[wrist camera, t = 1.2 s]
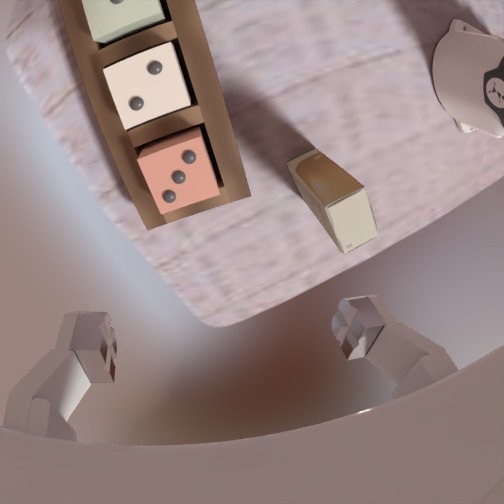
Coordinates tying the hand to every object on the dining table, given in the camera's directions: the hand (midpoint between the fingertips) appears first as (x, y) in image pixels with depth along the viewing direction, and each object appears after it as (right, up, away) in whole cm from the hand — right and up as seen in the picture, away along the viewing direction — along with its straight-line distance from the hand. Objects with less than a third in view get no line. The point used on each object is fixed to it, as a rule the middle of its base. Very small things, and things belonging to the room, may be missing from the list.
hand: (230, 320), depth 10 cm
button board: (-9, +20, +16) cm, 27 cm away
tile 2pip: (-9, +19, +14) cm, 25 cm away
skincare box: (+8, +12, +26) cm, 30 cm away
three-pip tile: (-7, +12, +20) cm, 24 cm away
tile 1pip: (-11, +26, +9) cm, 29 cm away
